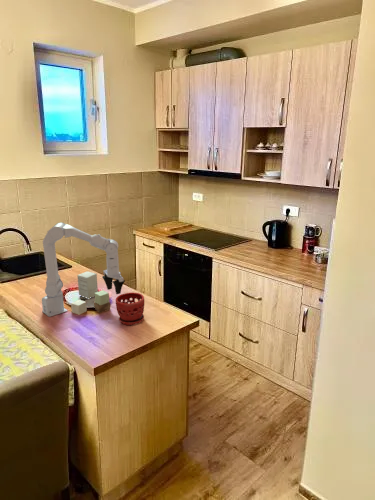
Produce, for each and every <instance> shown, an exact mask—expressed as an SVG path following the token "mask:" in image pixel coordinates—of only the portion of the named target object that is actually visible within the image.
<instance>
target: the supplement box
mask: <svg viewBox="0 0 375 500" xmlns="http://www.w3.org/2000/svg"><path fill="white" fill-rule="evenodd" d="M76 276H77V285H78V289H77V290H78V296H79V295H81V296H84V297H87V298H90V297H93V296H95V294H94V293H96V292H99V289H98V274H97V273H96V272H95V273H94V272H93V271H84V272H82V273H79V274H77V275H76ZM93 298H94V297H93Z"/></svg>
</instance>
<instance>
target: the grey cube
mask: <svg viewBox="0 0 375 500" xmlns="http://www.w3.org/2000/svg"><path fill="white" fill-rule="evenodd" d="M70 306H71V313H73V314H76V315H79V316H80V315H83V313H84V314H85V313H86V312H87V311H88V309H87V302H86V301H84V300H83V299H82V300H81V299H77V300H75V301H73V302H71V303H70Z"/></svg>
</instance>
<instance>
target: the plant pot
mask: <svg viewBox="0 0 375 500" xmlns="http://www.w3.org/2000/svg"><path fill="white" fill-rule="evenodd" d="M136 299H137V301H136ZM115 306H116V311H117V314H118V316H119V317H118V319H119V322H120V323H121V324H122V325H126V326H135V325H137V324H138V325H139V324H140V323H142V321H144V319H145V315H144V312H145V296H144V295H143V294H142V293H139V292H126V293H122V294H121V293H120V294H118V296H117V297H116V298H115Z"/></svg>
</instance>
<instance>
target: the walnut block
mask: <svg viewBox="0 0 375 500" xmlns="http://www.w3.org/2000/svg"><path fill="white" fill-rule="evenodd" d="M94 307H95V309H94V310H95V311H96V312H98V314H100V313H103V312H106V311H110V310H111V302H110V301H109V303H106V304H103V305H99V304H97V303H96V302H95V300H94V301H93V308H94Z"/></svg>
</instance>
